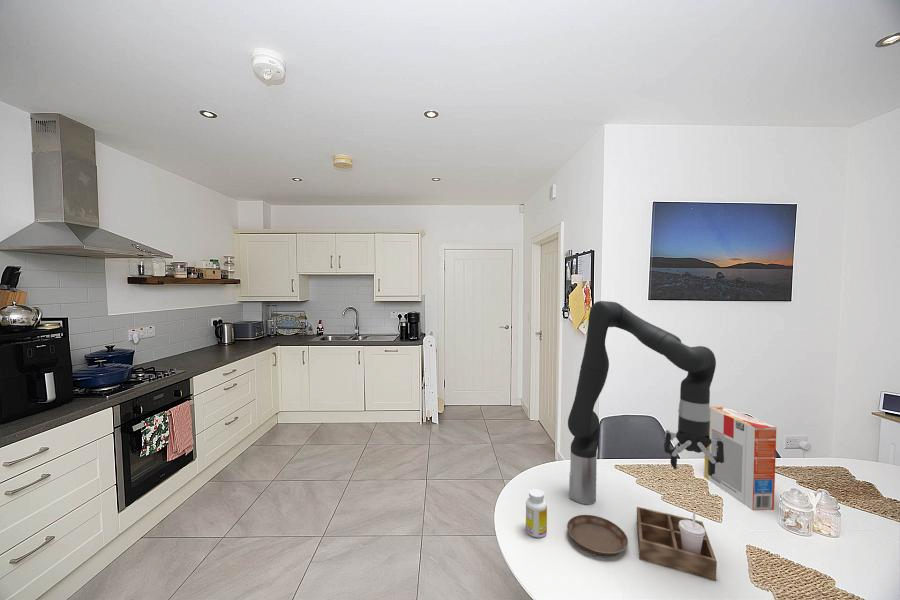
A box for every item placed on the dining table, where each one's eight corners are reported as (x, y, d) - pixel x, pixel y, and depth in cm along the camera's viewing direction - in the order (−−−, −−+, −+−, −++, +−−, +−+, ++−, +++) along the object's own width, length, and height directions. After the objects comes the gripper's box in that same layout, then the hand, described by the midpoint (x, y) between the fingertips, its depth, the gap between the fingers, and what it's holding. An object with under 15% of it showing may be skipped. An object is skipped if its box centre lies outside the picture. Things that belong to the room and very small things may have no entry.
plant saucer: (626, 532, 118) (627, 522, 118) (628, 570, 102) (629, 559, 102) (570, 517, 125) (570, 509, 125) (563, 551, 109) (563, 541, 109)
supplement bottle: (547, 527, 119) (548, 489, 119) (546, 540, 113) (546, 500, 113) (527, 523, 122) (527, 485, 121) (524, 535, 115) (524, 496, 115)
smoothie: (709, 569, 101) (710, 519, 100) (683, 565, 102) (684, 516, 101) (698, 553, 107) (699, 506, 106) (674, 549, 108) (675, 503, 108)
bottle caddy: (639, 559, 106) (639, 540, 105) (636, 522, 122) (636, 506, 122) (716, 580, 98) (716, 561, 98) (701, 538, 115) (702, 521, 114)
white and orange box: (773, 509, 130) (776, 427, 129) (752, 510, 130) (754, 427, 129) (722, 476, 153) (724, 406, 152) (704, 477, 153) (705, 406, 152)
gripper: (666, 415, 104) (664, 471, 104) (727, 424, 98) (725, 483, 98) (664, 408, 111) (662, 460, 111) (721, 415, 104) (719, 471, 105)
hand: (692, 471), depth 105 cm, fingers open, 8 cm apart
